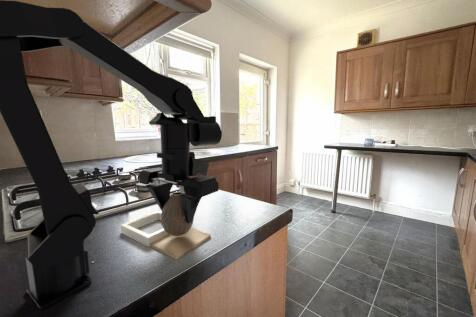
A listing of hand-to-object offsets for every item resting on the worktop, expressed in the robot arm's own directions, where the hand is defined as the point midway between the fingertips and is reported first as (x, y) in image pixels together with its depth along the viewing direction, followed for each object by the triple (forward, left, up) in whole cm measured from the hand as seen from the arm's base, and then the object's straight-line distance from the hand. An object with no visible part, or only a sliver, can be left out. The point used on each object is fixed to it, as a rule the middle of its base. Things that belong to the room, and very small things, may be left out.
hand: (177, 218), depth 47 cm
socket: (+3, +8, -5) cm, 10 cm away
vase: (0, 0, -3) cm, 3 cm away
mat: (0, 0, -5) cm, 5 cm away
